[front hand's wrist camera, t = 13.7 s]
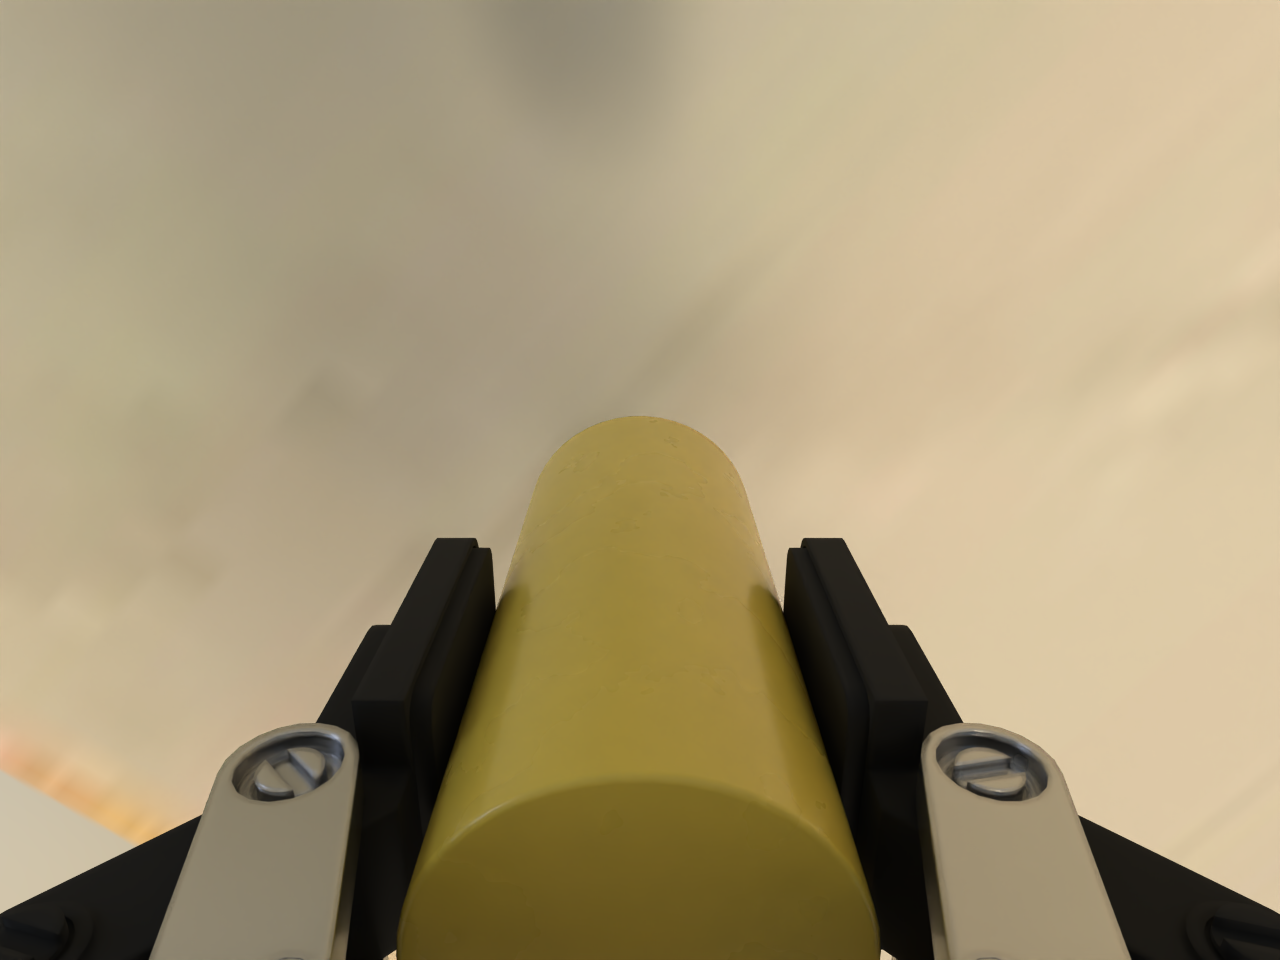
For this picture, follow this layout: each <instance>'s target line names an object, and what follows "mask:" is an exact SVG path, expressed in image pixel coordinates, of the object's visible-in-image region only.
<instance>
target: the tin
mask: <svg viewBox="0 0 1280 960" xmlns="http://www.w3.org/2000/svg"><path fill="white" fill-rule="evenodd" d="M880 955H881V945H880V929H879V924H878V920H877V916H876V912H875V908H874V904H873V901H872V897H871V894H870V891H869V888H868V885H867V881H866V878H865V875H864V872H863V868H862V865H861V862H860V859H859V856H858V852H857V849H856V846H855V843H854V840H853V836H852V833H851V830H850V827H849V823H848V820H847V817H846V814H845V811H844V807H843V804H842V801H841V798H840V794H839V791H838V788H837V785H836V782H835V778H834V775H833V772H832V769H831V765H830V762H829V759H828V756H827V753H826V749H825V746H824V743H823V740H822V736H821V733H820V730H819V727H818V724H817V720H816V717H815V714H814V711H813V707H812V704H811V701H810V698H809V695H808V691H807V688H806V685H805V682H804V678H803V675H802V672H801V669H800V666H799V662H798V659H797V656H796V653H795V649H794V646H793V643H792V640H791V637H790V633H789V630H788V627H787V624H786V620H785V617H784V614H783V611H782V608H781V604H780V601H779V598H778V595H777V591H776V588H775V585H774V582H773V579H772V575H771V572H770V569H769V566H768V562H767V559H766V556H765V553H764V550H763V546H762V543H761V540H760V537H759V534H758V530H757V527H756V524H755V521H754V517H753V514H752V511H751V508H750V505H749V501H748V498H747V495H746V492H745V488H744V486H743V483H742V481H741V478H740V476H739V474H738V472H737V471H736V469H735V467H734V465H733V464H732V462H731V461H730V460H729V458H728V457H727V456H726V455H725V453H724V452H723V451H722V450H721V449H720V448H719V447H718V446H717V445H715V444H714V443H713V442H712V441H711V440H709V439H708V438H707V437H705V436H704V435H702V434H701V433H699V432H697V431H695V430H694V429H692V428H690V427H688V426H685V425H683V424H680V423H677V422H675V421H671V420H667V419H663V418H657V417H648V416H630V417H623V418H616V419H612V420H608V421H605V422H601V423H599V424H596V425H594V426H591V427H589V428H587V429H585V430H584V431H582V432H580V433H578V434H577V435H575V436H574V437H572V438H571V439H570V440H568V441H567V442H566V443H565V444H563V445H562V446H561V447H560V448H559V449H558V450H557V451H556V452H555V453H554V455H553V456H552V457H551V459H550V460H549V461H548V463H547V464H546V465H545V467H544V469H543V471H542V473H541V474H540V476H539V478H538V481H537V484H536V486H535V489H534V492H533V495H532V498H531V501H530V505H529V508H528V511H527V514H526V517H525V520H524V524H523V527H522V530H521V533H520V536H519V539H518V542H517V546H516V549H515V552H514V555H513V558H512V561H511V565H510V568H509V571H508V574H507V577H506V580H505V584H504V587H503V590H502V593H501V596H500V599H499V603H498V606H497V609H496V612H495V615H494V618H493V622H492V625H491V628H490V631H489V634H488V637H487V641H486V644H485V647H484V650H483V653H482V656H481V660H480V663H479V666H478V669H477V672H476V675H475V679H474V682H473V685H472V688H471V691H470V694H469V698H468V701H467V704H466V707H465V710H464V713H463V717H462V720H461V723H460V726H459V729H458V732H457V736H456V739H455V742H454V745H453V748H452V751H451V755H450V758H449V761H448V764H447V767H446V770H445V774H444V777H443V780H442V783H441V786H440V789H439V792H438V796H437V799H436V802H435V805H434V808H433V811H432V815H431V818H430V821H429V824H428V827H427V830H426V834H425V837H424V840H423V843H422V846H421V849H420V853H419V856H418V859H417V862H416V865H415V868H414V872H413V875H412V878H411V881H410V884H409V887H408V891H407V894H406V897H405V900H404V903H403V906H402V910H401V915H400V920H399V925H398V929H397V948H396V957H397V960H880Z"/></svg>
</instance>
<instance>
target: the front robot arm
mask: <svg viewBox="0 0 1280 960" xmlns="http://www.w3.org/2000/svg"><path fill="white" fill-rule="evenodd" d="M495 612H496V606H495V591H494V576H493V562H492V553H491V549H490V548H479V547H478V542H477V540H476V538H437V539H436V540H435V542H434V544H433V545H432V547H431V549H430V551H429V553H428V555H427V557H426V559H425V561H424V563H423V564H422V566H421V568H420V570H419V572H418V574H417V576H416V578H415V580H414V582H413V584H412V585H411V587H410V589H409V591H408V593H407V595H406V597H405V599H404V601H403V603H402V604H401V606H400V608H399V610H398V612H397V614H396V616H395V618H394V620H393V622H392V623H391V625H374V626H372V627H371V628H370V629H369V630H368V632H367V633H366V635H365V637H364V639H363V640H362V642H361V644H360V646H359V648H358V649H357V651H356V653H355V655H354V656H353V658H352V660H351V662H350V663H349V665H348V667H347V669H346V670H345V672H344V674H343V676H342V678H341V679H340V681H339V683H338V685H337V686H336V688H335V690H334V692H333V693H332V695H331V697H330V699H329V700H328V702H327V704H326V706H325V708H324V709H323V711H322V713H321V715H320V716H319V718H318V720H317V722H316V723H304V724H296V725H291V726H286V727H281V728H277V729H275V730H272V731H270V732H267V733H264V734H262V735H259V736H257V737H255V738H254V739H252V740H250V741H249V742H247V743H245V744H244V745H242V746H240V747H239V748H238V749H237V750H236V751H235V752H234V753H233V754H232V755H230V756H229V757H228V758H227V759H226V760H225V762H224V763H223V765H222V767H221V768H220V770H219V772H218V773H217V776H216V779H215V781H214V784H213V787H212V789H211V792H210V795H209V798H208V800H207V803H206V806H205V808H204V811H203V814H202V815H200V816H198V817H196V818H194V819H192V820H190V821H188V822H186V823H184V824H182V825H180V826H178V827H176V828H174V829H172V830H170V831H168V832H166V833H164V834H161V835H159V836H157V837H155V838H153V839H151V840H149V841H147V842H145V843H143V844H141V845H139V846H137V847H135V848H133V849H131V850H129V851H127V852H125V853H123V854H121V855H119V856H117V857H115V858H112V859H110V860H108V861H106V862H104V863H102V864H100V865H98V866H96V867H94V868H92V869H90V870H88V871H86V872H84V873H82V874H80V875H78V876H76V877H74V878H72V879H70V880H67V881H65V882H63V883H61V884H59V885H57V886H55V887H53V888H51V889H49V890H47V891H45V892H43V893H41V894H39V895H37V896H35V897H33V898H31V899H29V900H27V901H25V902H23V903H20V904H18V905H16V906H14V907H12V908H10V909H8V910H6V911H5V912H3V913H1V914H0V960H388V955H389V954H390V953H392V952H393V951H395V950H396V948H397V929H398V925H399V920H400V915H401V910H402V906H403V903H404V900H405V897H406V894H407V891H408V887H409V884H410V881H411V878H412V875H413V872H414V868H415V865H416V862H417V859H418V856H419V853H420V849H421V846H422V843H423V840H424V837H425V834H426V830H427V827H428V824H429V821H430V818H431V815H432V811H433V808H434V805H435V802H436V799H437V796H438V792H439V789H440V786H441V783H442V780H443V777H444V774H445V770H446V767H447V764H448V761H449V758H450V755H451V751H452V748H453V745H454V742H455V739H456V736H457V732H458V729H459V726H460V723H461V720H462V717H463V713H464V710H465V707H466V704H467V701H468V698H469V694H470V691H471V688H472V685H473V682H474V679H475V675H476V672H477V669H478V666H479V663H480V660H481V656H482V653H483V650H484V647H485V644H486V641H487V637H488V634H489V631H490V628H491V625H492V622H493V618H494V615H495ZM783 614H784V617H785V620H786V624H787V627H788V630H789V633H790V637H791V640H792V643H793V646H794V649H795V653H796V656H797V659H798V662H799V666H800V669H801V672H802V675H803V678H804V682H805V685H806V688H807V691H808V695H809V698H810V701H811V704H812V707H813V711H814V714H815V717H816V720H817V724H818V727H819V730H820V733H821V736H822V740H823V743H824V746H825V749H826V753H827V756H828V759H829V762H830V765H831V769H832V772H833V775H834V778H835V782H836V785H837V788H838V791H839V794H840V798H841V801H842V804H843V807H844V811H845V814H846V817H847V820H848V823H849V827H850V830H851V833H852V836H853V840H854V843H855V846H856V849H857V852H858V856H859V859H860V862H861V865H862V868H863V872H864V875H865V878H866V881H867V885H868V888H869V891H870V894H871V897H872V901H873V904H874V908H875V912H876V916H877V920H878V924H879V929H880V945H881V950H884V951H886V952H887V953H889V954H890V955H892V960H1280V914H1278V913H1277V912H1275V911H1273V910H1271V909H1269V908H1267V907H1265V906H1263V905H1261V904H1259V903H1257V902H1255V901H1253V900H1251V899H1249V898H1247V897H1245V896H1243V895H1241V894H1239V893H1237V892H1234V891H1232V890H1230V889H1228V888H1226V887H1224V886H1222V885H1220V884H1218V883H1216V882H1214V881H1212V880H1210V879H1208V878H1206V877H1204V876H1202V875H1200V874H1198V873H1196V872H1194V871H1192V870H1189V869H1187V868H1185V867H1183V866H1181V865H1179V864H1177V863H1175V862H1173V861H1171V860H1169V859H1167V858H1165V857H1163V856H1161V855H1159V854H1157V853H1155V852H1153V851H1151V850H1149V849H1147V848H1144V847H1142V846H1140V845H1138V844H1136V843H1134V842H1132V841H1130V840H1128V839H1126V838H1124V837H1122V836H1120V835H1118V834H1116V833H1114V832H1112V831H1110V830H1108V829H1106V828H1104V827H1102V826H1099V825H1097V824H1095V823H1093V822H1091V821H1089V820H1087V819H1085V818H1083V817H1081V816H1079V815H1078V814H1077V811H1076V808H1075V806H1074V803H1073V800H1072V798H1071V795H1070V792H1069V789H1068V787H1067V784H1066V781H1065V779H1064V776H1063V773H1062V772H1061V770H1060V768H1059V767H1058V765H1057V764H1056V762H1055V760H1054V759H1053V758H1052V757H1051V756H1050V755H1048V754H1047V753H1046V752H1045V751H1044V750H1043V749H1042V748H1041V747H1040V746H1038V745H1036V744H1035V743H1033V742H1031V741H1030V740H1028V739H1026V738H1025V737H1023V736H1021V735H1018V734H1016V733H1013V732H1010V731H1008V730H1005V729H1003V728H999V727H994V726H989V725H984V724H976V723H963V721H962V719H961V718H960V716H959V714H958V712H957V711H956V709H955V707H954V705H953V704H952V702H951V700H950V698H949V696H948V695H947V693H946V691H945V689H944V688H943V686H942V684H941V682H940V681H939V679H938V677H937V675H936V674H935V672H934V670H933V668H932V667H931V665H930V663H929V661H928V659H927V658H926V656H925V654H924V652H923V651H922V649H921V647H920V645H919V644H918V642H917V640H916V638H915V637H914V635H913V633H912V631H911V630H910V629H909V628H908V626H905V625H888V623H887V621H886V619H885V617H884V615H883V614H882V612H881V610H880V608H879V606H878V604H877V602H876V600H875V598H874V596H873V595H872V593H871V591H870V589H869V587H868V585H867V583H866V581H865V579H864V577H863V575H862V574H861V572H860V570H859V568H858V566H857V564H856V562H855V560H854V558H853V556H852V555H851V553H850V551H849V549H848V547H847V545H846V543H845V541H844V540H843V539H842V538H803V540H802V543H801V548H789V550H788V554H787V565H786V580H785V595H784V609H783Z"/></svg>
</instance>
